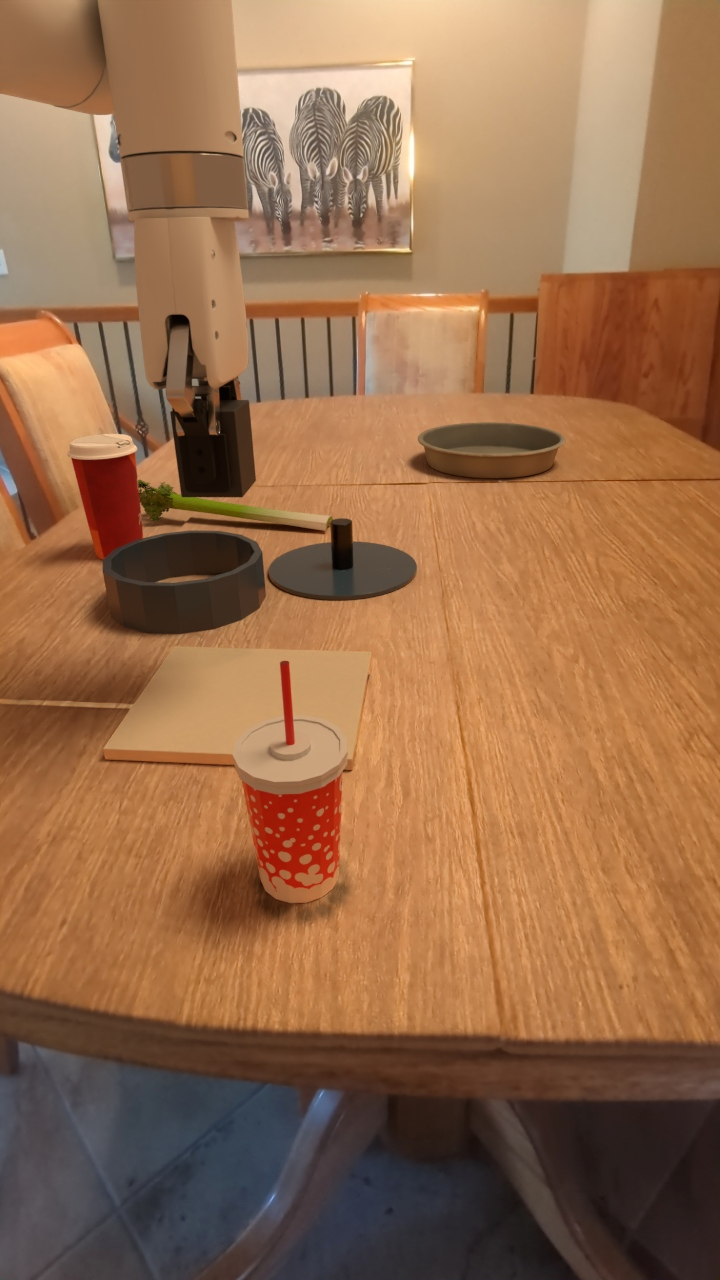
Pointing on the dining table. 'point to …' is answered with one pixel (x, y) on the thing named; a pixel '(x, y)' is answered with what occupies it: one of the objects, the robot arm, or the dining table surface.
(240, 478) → the block
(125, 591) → the pot
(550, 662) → the dining table surface
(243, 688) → the board
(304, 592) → the lid
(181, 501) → the celery stalk
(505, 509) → the dining table surface
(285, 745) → the beverage cup
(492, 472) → the cake pan
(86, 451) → the paper cup
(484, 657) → the dining table surface
